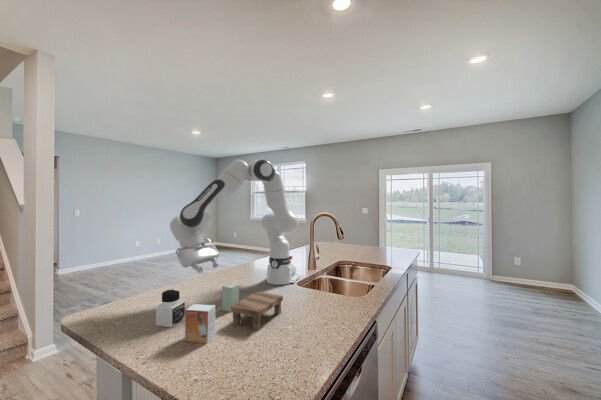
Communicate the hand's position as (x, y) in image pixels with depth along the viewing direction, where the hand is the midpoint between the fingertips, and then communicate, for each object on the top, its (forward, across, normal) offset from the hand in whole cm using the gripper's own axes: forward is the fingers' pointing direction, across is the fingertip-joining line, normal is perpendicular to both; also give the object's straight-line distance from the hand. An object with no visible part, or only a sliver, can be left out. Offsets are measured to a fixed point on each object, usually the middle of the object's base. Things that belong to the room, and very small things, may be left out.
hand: (209, 269), depth 119 cm
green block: (+20, 0, +2) cm, 20 cm away
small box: (+25, -24, -2) cm, 35 cm away
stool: (+31, -3, -9) cm, 32 cm away
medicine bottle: (+11, -20, +11) cm, 25 cm away
